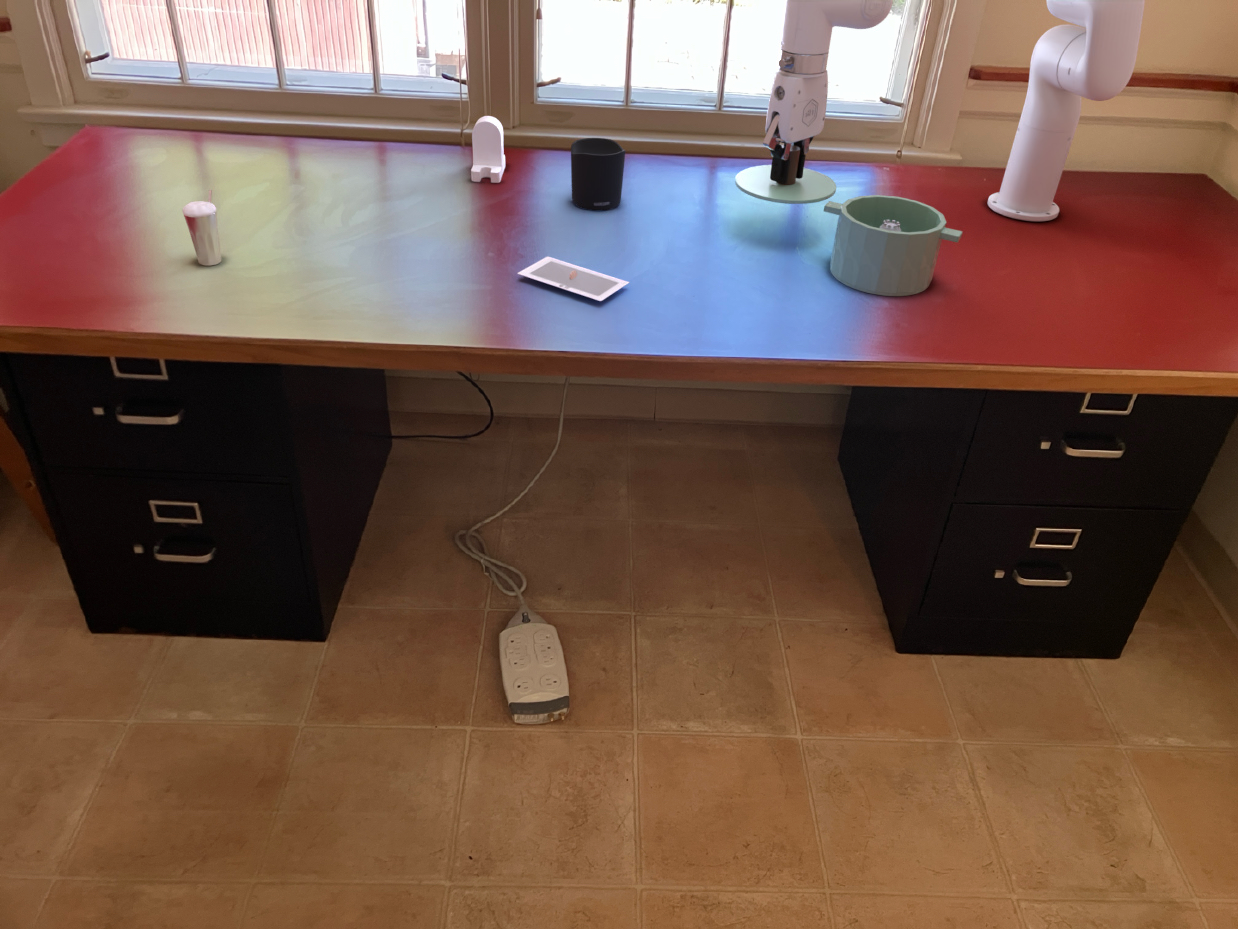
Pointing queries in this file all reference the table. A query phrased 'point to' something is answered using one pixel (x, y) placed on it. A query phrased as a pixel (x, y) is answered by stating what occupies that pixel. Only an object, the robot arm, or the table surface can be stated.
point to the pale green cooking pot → (887, 244)
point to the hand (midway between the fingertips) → (786, 177)
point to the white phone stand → (488, 150)
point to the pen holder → (597, 173)
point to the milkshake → (203, 230)
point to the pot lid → (795, 189)
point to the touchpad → (573, 278)
